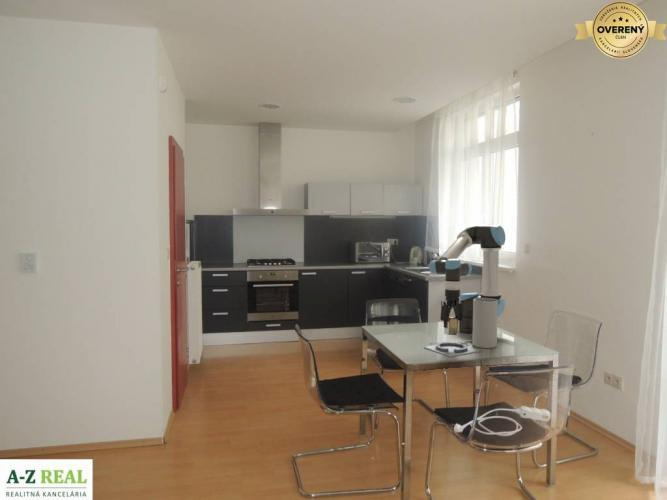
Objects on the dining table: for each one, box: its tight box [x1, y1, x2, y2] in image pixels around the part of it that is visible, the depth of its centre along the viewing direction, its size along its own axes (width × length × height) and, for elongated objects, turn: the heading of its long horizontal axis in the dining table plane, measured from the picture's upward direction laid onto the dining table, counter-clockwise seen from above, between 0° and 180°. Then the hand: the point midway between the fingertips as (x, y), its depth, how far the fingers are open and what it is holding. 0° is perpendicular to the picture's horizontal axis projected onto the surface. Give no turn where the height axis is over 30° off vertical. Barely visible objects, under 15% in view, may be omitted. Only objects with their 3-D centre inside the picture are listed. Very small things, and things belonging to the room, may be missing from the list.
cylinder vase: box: [472, 298, 498, 349], centre depth 265 cm, size 12×12×25 cm
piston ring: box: [435, 341, 469, 353], centre depth 257 cm, size 16×16×2 cm
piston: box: [446, 316, 458, 336], centre depth 257 cm, size 6×6×8 cm
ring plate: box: [423, 344, 481, 358], centre depth 258 cm, size 20×20×1 cm
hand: (451, 333), depth 257 cm, fingers closed on piston, 6 cm apart
